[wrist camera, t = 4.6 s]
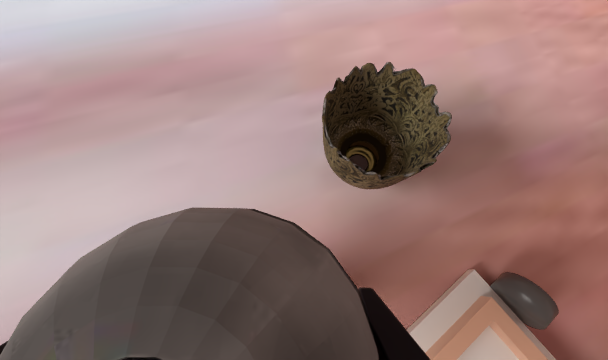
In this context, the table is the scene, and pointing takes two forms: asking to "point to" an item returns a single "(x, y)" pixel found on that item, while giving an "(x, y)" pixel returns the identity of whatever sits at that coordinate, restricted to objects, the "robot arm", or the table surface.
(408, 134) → the cup
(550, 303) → the chassis
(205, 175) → the table surface
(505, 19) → the table surface
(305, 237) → the beverage cup
